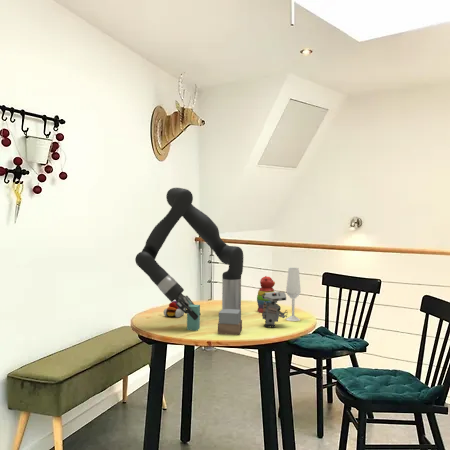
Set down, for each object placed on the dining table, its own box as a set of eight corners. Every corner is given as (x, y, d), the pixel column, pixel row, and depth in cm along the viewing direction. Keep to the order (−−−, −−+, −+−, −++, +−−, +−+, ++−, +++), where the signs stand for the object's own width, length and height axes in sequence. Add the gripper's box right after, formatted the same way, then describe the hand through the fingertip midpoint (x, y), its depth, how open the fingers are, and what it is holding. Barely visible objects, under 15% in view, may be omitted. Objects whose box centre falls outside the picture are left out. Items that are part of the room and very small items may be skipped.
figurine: (288, 328, 205) (288, 293, 204) (261, 327, 206) (262, 293, 205) (287, 323, 214) (287, 290, 214) (261, 323, 215) (262, 289, 214)
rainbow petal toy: (161, 317, 225) (161, 302, 225) (170, 313, 234) (170, 298, 234) (178, 318, 223) (178, 303, 222) (186, 314, 232) (186, 299, 232)
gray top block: (222, 319, 203) (222, 308, 202) (241, 320, 201) (241, 309, 201) (218, 323, 195) (218, 312, 195) (237, 324, 193) (237, 313, 193)
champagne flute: (283, 319, 222) (283, 268, 222) (290, 317, 227) (291, 267, 227) (295, 321, 218) (295, 269, 217) (303, 319, 223) (303, 268, 222)
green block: (189, 327, 205) (189, 304, 205) (199, 328, 204) (199, 304, 204) (186, 330, 201) (187, 306, 200) (197, 330, 200) (197, 306, 200)
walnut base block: (221, 329, 203) (221, 319, 203) (242, 330, 202) (242, 319, 202) (217, 334, 194) (217, 323, 194) (239, 335, 193) (239, 324, 193)
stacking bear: (276, 314, 234) (276, 278, 234) (255, 313, 236) (256, 277, 235) (277, 309, 245) (277, 275, 244) (257, 309, 246) (258, 274, 246)
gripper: (172, 284, 196) (201, 314, 195) (180, 279, 210) (207, 308, 209) (159, 296, 197) (188, 327, 196) (168, 291, 211) (195, 319, 210)
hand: (197, 317), depth 202 cm, fingers closed on green block, 4 cm apart
